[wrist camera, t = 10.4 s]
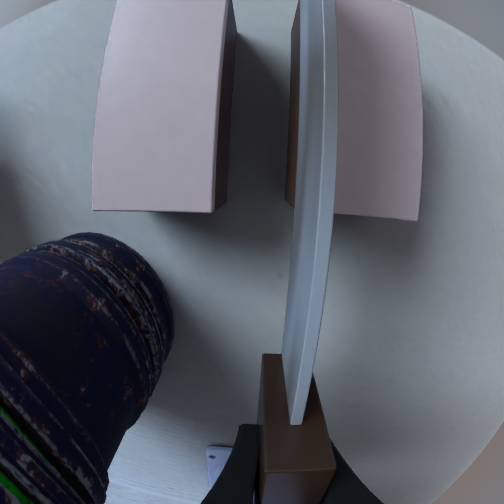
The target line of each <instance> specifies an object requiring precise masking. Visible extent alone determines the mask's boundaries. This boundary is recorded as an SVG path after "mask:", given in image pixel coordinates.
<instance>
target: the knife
mask: <svg viewBox="0 0 504 504" xmlns="http://www.w3.org/2000/svg"><path fill="white" fill-rule="evenodd" d="M338 129H339V60H338V33H337V16H336V2H335V0H300V100H299V130H298V153H297V173H296V191H295V207H294V222H293V236H292V249H291V261H290V273H289V285H288V295H287V306H286V316H285V326H284V335H283V345H282V354H263V355H262V366H261V378H260V390H259V402H258V414H257V424H259V456H258V464H257V473H256V481H255V489H254V496H253V504H320V502H321V500H322V498H323V496H324V494H325V492H326V490H327V488H328V486H329V484H330V482H331V479H332V477H333V475H334V473H335V471H336V468H337V467H336V462H335V458H334V454H333V450H332V446H331V442H330V438H329V434H328V430H327V425H326V421H325V418H324V414H323V410H322V406H321V402H320V398H319V394H318V390H317V386H316V382H315V379H314V375H313V367H314V362H315V356H316V351H317V345H318V339H319V333H320V326H321V320H322V313H323V306H324V299H325V292H326V284H327V276H328V268H329V259H330V250H331V240H332V229H333V218H334V206H335V192H336V176H337V157H338Z"/></svg>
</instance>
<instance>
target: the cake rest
mask: <svg viewBox="0 0 504 504" xmlns="http://www.w3.org/2000/svg"><path fill="white" fill-rule="evenodd" d="M236 37H237V29H236V22H235V16H234V10H233V4H232V0H118V2H117V5H116V9H115V12H114V16H113V20H112V24H111V28H110V32H109V37H108V41H107V46H106V51H105V56H104V62H103V67H102V73H101V79H100V86H99V93H98V101H97V110H96V119H95V130H94V144H93V164H92V210H93V211H147V212H187V213H212V212H213V211H215V210H216V209H218V208H219V207H220V206H222V205H223V204H225V203H226V202H227V182H228V160H229V141H230V123H231V107H232V91H233V77H234V63H235V50H236Z"/></svg>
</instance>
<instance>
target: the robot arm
mask: <svg viewBox="0 0 504 504" xmlns="http://www.w3.org/2000/svg"><path fill="white" fill-rule="evenodd" d="M330 442H331V446H332V450H333V454H334V458H335V462H336V467H337V468H336V471H335V473H334V475H333V477H332V479H331V482H330V484H329V486H328V488H327V490H326V492H325V494H324V496H323V498H322V500H321V502H320V504H384V503H382V502H381V501H380V500H379V499H378V498H377V497H376V496H375V495H374V494H373V493H372V492H371V491H370V490H369V489H368V488H367V487H366V486H365V485H364V484H363V483H362V482H361V480H360V479H359V478H358V477H357V476H356V475H355V473H354V472H353V471H352V470H351V468H350V467H349V466H348V464H347V463H346V462H345V460H344V459H343V458H342V456H341V455H340V453H339V452H338V450H337V449H336V447H335V446H334V444H333V442H332V441H331V439H330ZM258 456H259V424H241V425H239V430H238V434H237V438H236V441H235V444H234V446H233V448H227V447H216V446H210V447H207V449H206V460H207V470H208V480H209V488H210V491H209V493H208V494H207V496H206V497H205V498H204V500H203V501H202V502H201V504H253V496H254V489H255V481H256V473H257V464H258Z"/></svg>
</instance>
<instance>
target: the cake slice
mask: <svg viewBox="0 0 504 504" xmlns="http://www.w3.org/2000/svg"><path fill="white" fill-rule="evenodd" d="M335 2H336V16H337V33H338V60H339V129H338V157H337V176H336V192H335V206H334V213H335V214H347V215H358V216H369V217H379V218H389V219H398V220H407V221H418V215H419V205H420V194H421V181H422V162H423V103H422V85H421V72H420V62H419V53H418V45H417V38H416V31H415V25H414V19H413V14H412V9H411V7H410V6H407V5H404V4H401V3H398V2H395V1H392V0H335ZM299 100H300V0H299V1H298V5H297V9H296V14H295V18H294V22H293V27H292V31H291V74H290V103H289V127H288V149H287V168H286V185H285V201H286V202H288V203H289V204H290V205H292V206H293V207H295V191H296V173H297V153H298V130H299Z"/></svg>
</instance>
